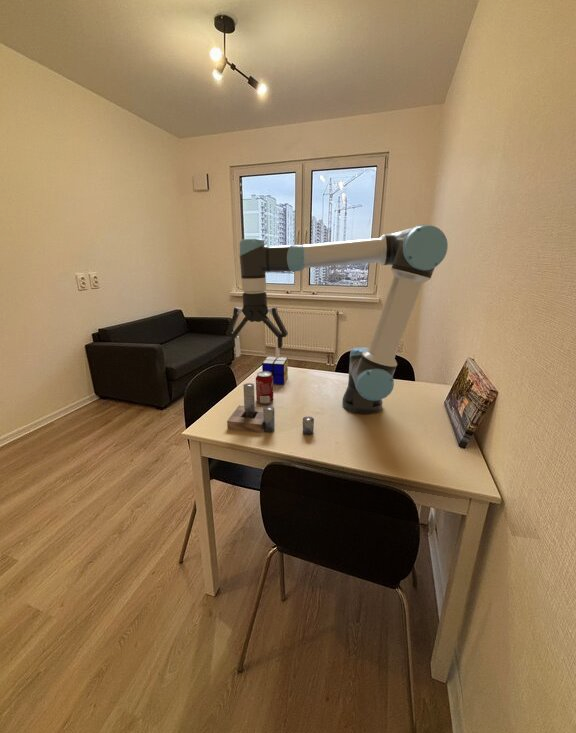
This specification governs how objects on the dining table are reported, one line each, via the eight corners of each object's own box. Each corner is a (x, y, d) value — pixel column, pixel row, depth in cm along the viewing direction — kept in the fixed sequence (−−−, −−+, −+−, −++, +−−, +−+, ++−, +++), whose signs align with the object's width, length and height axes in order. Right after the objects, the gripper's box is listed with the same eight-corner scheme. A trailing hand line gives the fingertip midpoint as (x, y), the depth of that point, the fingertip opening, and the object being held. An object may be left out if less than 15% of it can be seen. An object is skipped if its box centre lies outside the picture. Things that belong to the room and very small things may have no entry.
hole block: (270, 415, 118) (270, 408, 117) (261, 432, 107) (261, 424, 106) (239, 412, 120) (238, 405, 119) (227, 428, 109) (227, 421, 108)
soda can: (271, 406, 125) (270, 377, 121) (254, 404, 126) (253, 375, 123) (275, 398, 131) (274, 371, 127) (259, 397, 133) (258, 370, 129)
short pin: (314, 430, 108) (314, 417, 107) (312, 435, 105) (313, 422, 103) (303, 429, 109) (303, 416, 107) (301, 434, 106) (302, 421, 104)
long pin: (256, 420, 115) (255, 383, 110) (253, 425, 111) (252, 387, 107) (246, 419, 115) (245, 382, 111) (243, 424, 112) (241, 386, 107)
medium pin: (275, 427, 110) (275, 406, 107) (273, 433, 106) (272, 411, 104) (265, 426, 110) (264, 405, 108) (262, 432, 107) (262, 410, 104)
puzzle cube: (262, 383, 147) (261, 363, 143) (267, 376, 156) (267, 356, 153) (284, 385, 145) (284, 364, 142) (287, 377, 154) (287, 357, 151)
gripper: (295, 290, 102) (296, 354, 109) (220, 290, 106) (226, 352, 113) (291, 293, 95) (293, 361, 102) (211, 293, 99) (218, 358, 106)
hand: (257, 356), depth 108 cm, fingers open, 13 cm apart
